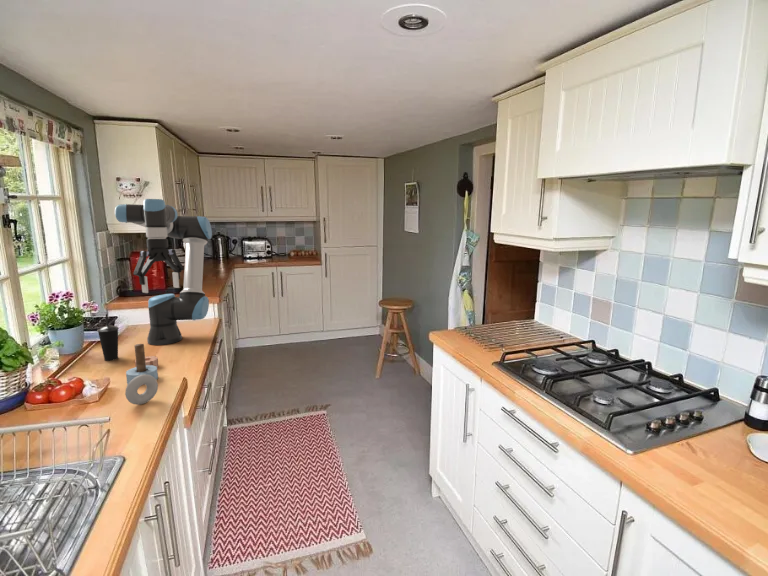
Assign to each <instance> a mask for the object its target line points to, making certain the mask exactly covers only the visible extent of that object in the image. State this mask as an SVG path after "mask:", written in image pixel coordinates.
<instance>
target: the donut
mask: <svg viewBox="0 0 768 576" xmlns="http://www.w3.org/2000/svg"><path fill="white" fill-rule="evenodd" d="M157 380H158V379H157ZM157 380H156V379H155V378H154V377H153V376H151V375H146V374H143V375H139V376H137V377H135V378H133V379H132V380H131V381H130V382H129V384H127V385H126V387H125V393H124V395H125V398H126V400H127V401H128V402H129V403H130V404H133V405H138V406H139V405H140V406H141V405H143V404H146V403H148V402H149V401H151V400H152V399H153V398H154V397H155V396H156V395H157V392H158V389H159V388H158V387H159V385H158V381H157ZM143 385H145V386H146V388H145V391H144V392H142V393H138V391H139V388H140V387H141V386H143Z"/></svg>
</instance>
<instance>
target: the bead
mask: <svg viewBox="0 0 768 576" xmlns="http://www.w3.org/2000/svg"><path fill="white" fill-rule="evenodd" d="M145 362H146V365H153V366H156V367H157V368H158V367H159V358H158V356H155V355H149V356H146V355H145ZM134 364H135V367H137V366H136V359H135V360H134Z"/></svg>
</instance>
